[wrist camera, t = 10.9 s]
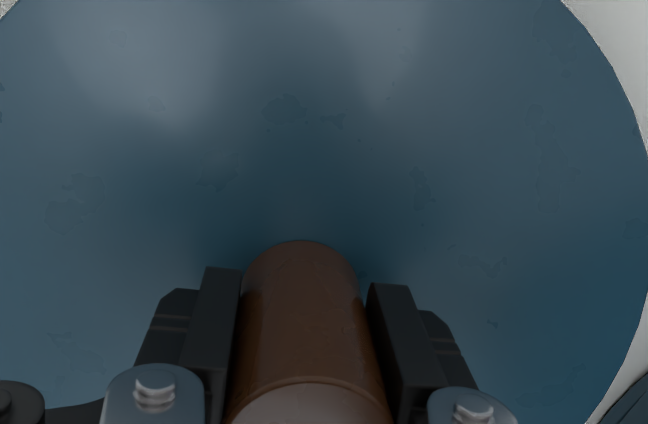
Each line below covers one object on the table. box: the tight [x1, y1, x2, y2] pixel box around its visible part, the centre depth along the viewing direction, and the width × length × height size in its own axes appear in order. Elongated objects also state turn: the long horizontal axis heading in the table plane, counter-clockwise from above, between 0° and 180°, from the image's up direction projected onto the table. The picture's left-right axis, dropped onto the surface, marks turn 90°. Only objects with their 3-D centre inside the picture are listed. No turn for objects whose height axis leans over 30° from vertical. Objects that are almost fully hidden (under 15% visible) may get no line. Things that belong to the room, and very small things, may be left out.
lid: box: [0, 0, 648, 424], centre depth 12 cm, size 16×16×6 cm
